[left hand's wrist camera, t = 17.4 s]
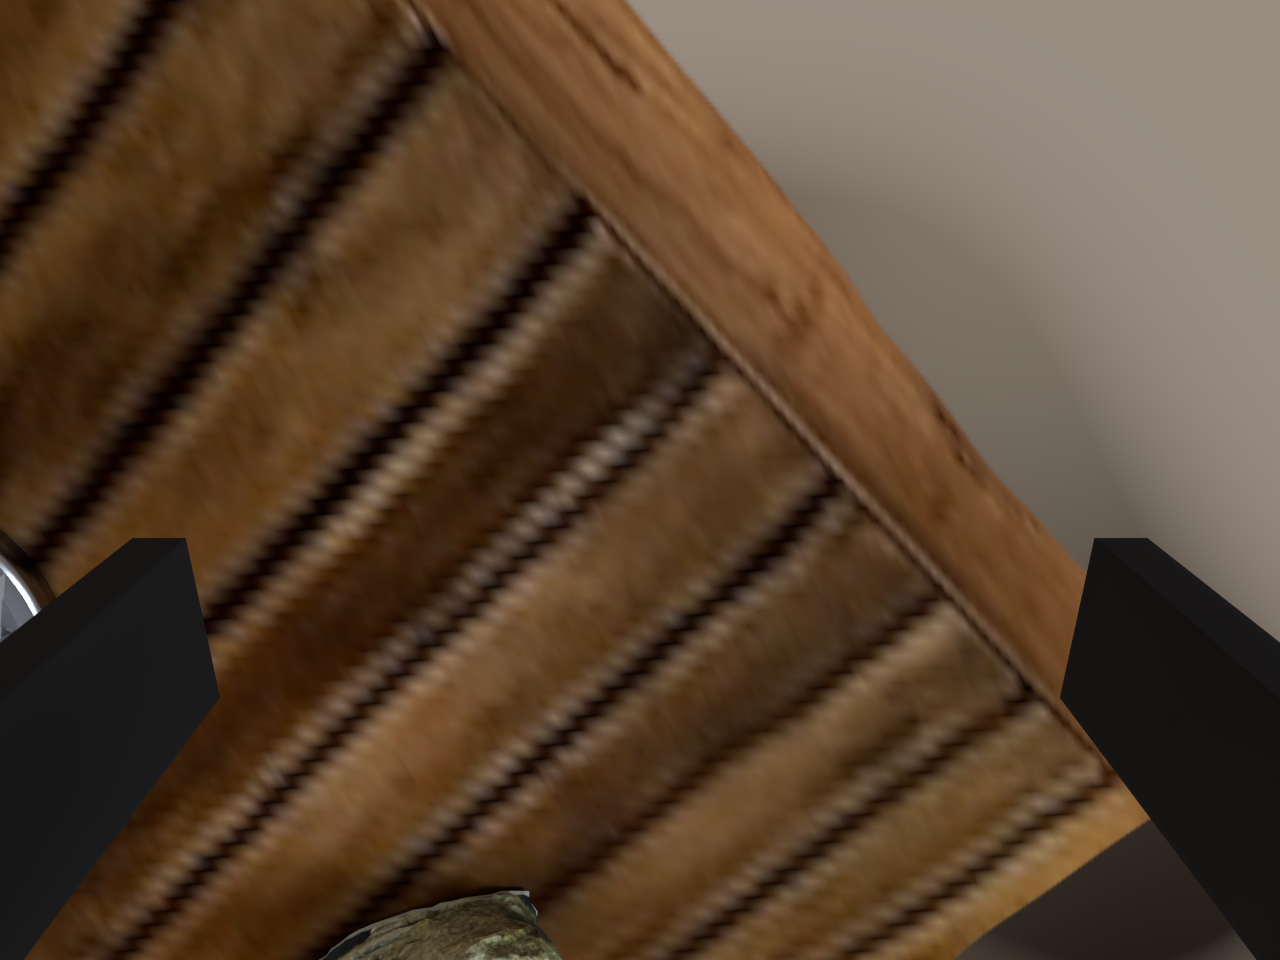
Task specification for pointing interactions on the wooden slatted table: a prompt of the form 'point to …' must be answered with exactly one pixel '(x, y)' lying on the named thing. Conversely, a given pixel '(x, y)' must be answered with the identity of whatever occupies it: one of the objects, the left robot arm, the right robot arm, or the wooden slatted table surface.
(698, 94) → the wooden slatted table surface
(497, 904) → the fossil
